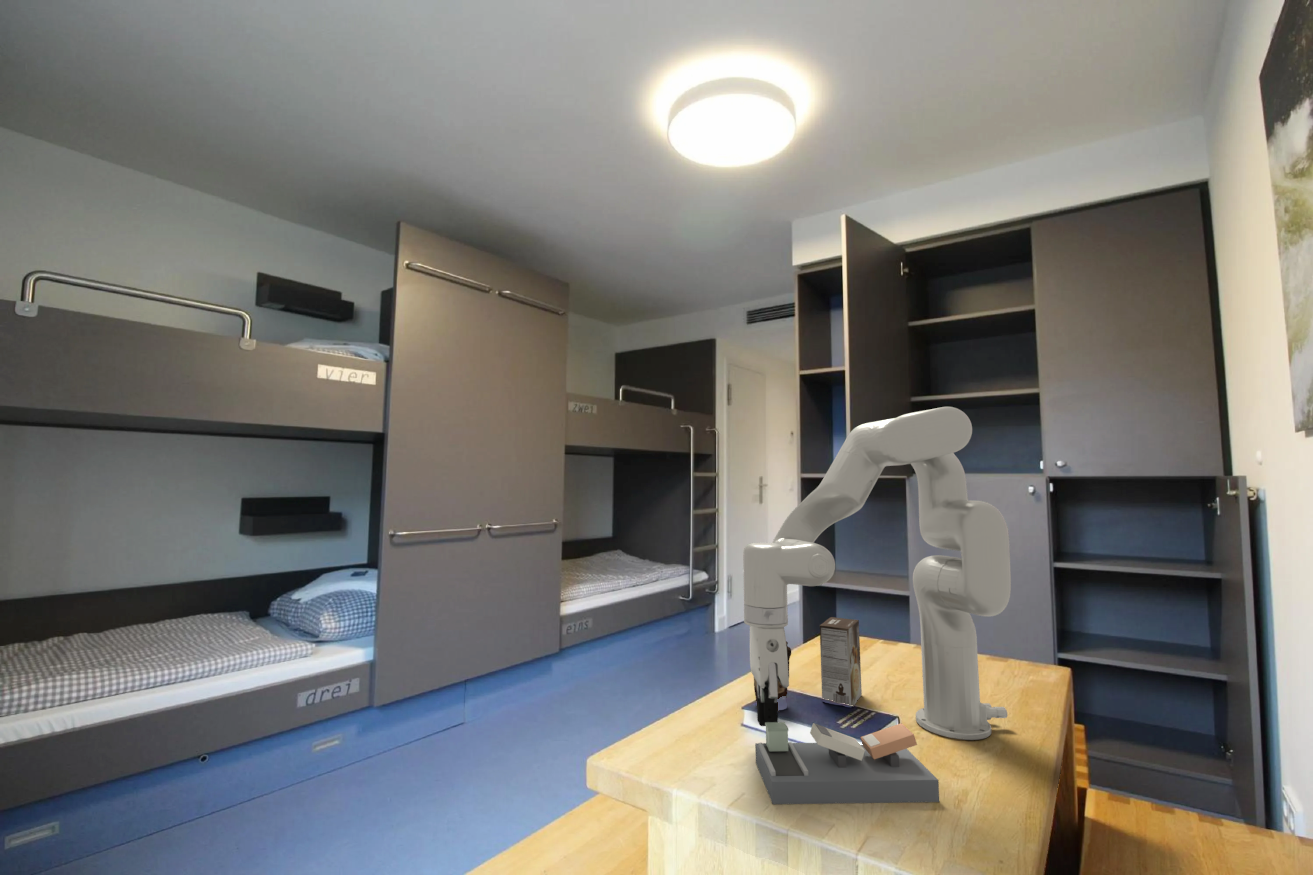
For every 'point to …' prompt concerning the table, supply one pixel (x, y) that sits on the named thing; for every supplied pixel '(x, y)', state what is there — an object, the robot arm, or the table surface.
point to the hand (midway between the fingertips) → (767, 723)
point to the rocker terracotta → (888, 741)
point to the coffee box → (840, 660)
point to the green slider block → (776, 736)
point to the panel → (843, 776)
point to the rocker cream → (837, 741)
